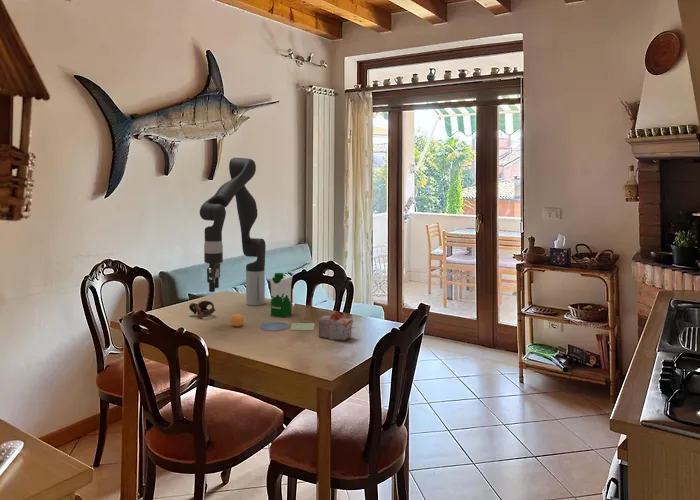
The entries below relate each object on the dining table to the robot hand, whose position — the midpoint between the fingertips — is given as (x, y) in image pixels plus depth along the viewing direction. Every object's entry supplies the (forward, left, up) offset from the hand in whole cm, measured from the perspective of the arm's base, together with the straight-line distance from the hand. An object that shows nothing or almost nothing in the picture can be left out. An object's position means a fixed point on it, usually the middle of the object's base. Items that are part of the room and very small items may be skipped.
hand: (214, 289), depth 218 cm
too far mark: (0, +38, -16) cm, 41 cm away
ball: (0, +10, -13) cm, 16 cm away
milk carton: (-19, +27, -16) cm, 36 cm away
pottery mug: (-16, -9, -16) cm, 24 cm away
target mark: (0, +26, -16) cm, 30 cm away
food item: (+15, +52, -16) cm, 56 cm away
